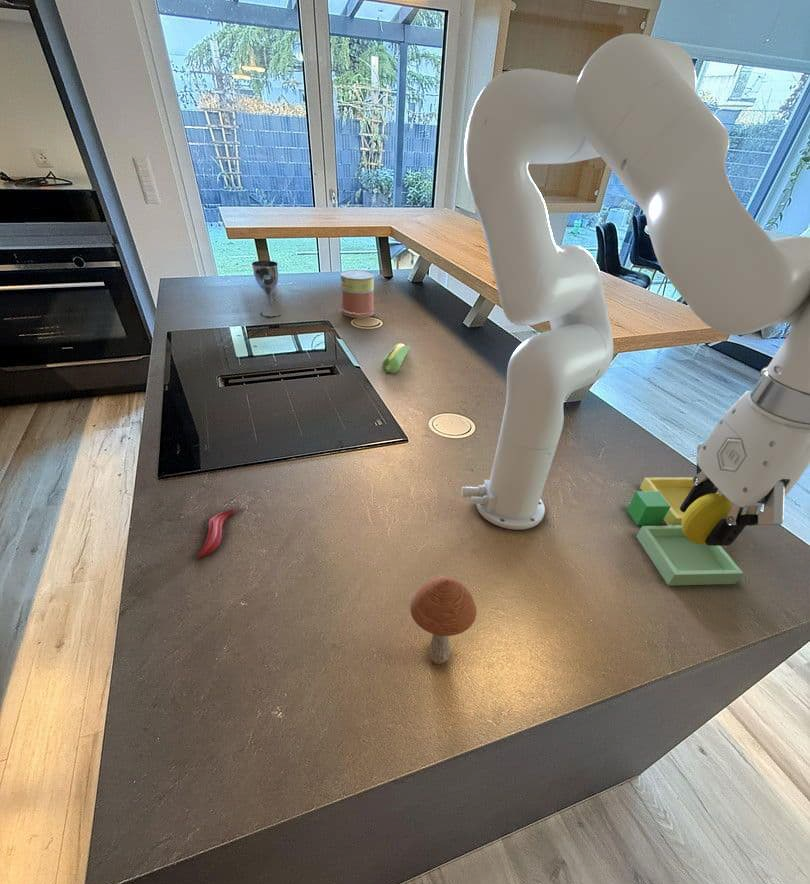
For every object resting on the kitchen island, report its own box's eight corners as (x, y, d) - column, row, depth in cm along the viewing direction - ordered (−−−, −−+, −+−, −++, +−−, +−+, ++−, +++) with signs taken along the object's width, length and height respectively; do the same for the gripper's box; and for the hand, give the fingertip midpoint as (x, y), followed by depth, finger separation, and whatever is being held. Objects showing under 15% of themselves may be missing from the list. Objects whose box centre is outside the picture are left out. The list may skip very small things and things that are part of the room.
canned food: (345, 306, 168) (344, 268, 160) (375, 308, 167) (376, 271, 159) (338, 316, 160) (337, 277, 151) (371, 319, 159) (371, 280, 151)
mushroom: (403, 631, 65) (410, 555, 54) (459, 629, 65) (476, 554, 55) (408, 683, 59) (417, 609, 49) (469, 679, 60) (490, 606, 49)
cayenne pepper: (224, 508, 82) (222, 499, 80) (247, 514, 81) (245, 506, 79) (179, 552, 73) (176, 544, 72) (204, 560, 72) (201, 551, 71)
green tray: (667, 585, 74) (675, 574, 72) (636, 536, 82) (641, 525, 81) (734, 584, 75) (743, 573, 73) (696, 535, 83) (703, 525, 82)
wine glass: (255, 316, 155) (247, 265, 145) (264, 308, 161) (257, 259, 150) (278, 318, 154) (272, 267, 144) (286, 311, 160) (281, 262, 150)
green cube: (636, 525, 85) (647, 506, 82) (626, 510, 88) (635, 491, 85) (660, 525, 85) (670, 506, 82) (648, 509, 88) (658, 491, 85)
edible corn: (378, 375, 126) (378, 359, 123) (396, 349, 140) (397, 334, 137) (396, 378, 125) (397, 362, 122) (412, 352, 139) (413, 336, 136)
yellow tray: (670, 529, 84) (676, 518, 83) (639, 487, 94) (644, 477, 92) (733, 528, 86) (741, 517, 84) (697, 487, 95) (703, 477, 93)
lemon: (719, 560, 60) (757, 514, 54) (675, 552, 60) (708, 505, 55) (708, 532, 64) (742, 486, 58) (667, 524, 64) (696, 478, 59)
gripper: (715, 361, 53) (646, 486, 66) (821, 443, 41) (712, 577, 54) (774, 363, 54) (695, 486, 67) (896, 445, 42) (771, 576, 54)
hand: (703, 525), depth 60 cm, fingers closed on lemon, 5 cm apart
